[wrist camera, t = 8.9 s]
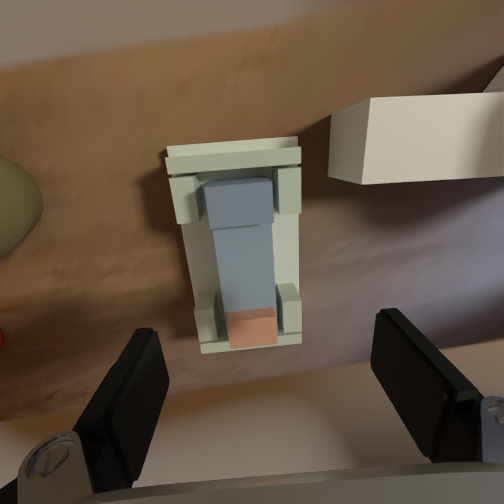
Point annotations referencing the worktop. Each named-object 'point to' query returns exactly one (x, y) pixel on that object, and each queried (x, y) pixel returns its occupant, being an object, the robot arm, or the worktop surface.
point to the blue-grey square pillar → (245, 257)
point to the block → (418, 138)
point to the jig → (201, 236)
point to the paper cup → (1, 338)
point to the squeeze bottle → (16, 204)
